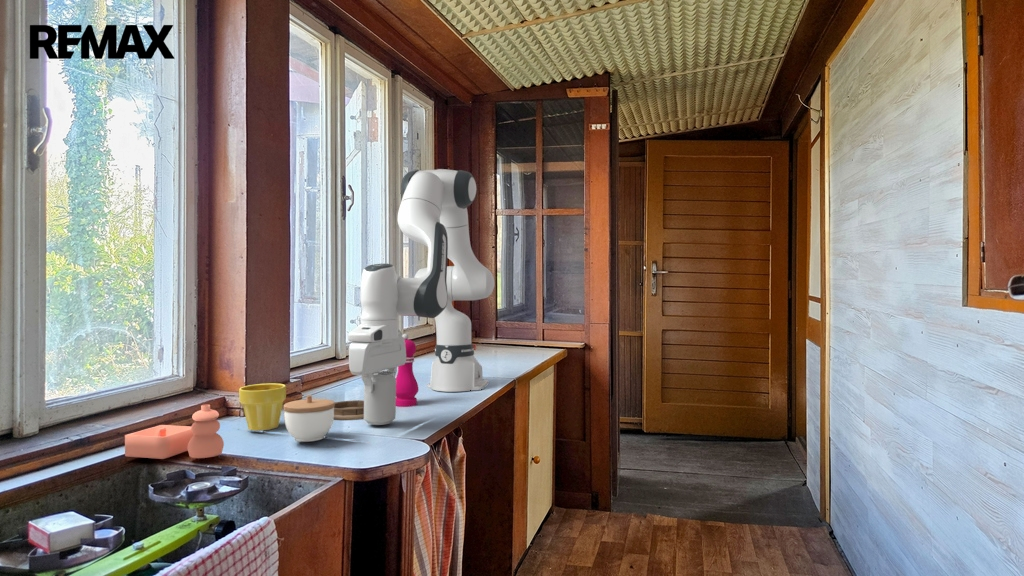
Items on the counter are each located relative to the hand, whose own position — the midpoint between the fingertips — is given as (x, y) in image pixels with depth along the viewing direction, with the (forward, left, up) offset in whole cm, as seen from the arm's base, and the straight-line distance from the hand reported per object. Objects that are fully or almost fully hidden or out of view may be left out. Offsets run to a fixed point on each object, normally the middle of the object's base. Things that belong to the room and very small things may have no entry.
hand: (379, 388), depth 152 cm
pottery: (+34, -25, -9) cm, 44 cm away
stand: (-9, -14, -9) cm, 19 cm away
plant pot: (+11, -25, -9) cm, 29 cm away
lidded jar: (+16, -8, -9) cm, 20 cm away
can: (0, 0, -8) cm, 8 cm away
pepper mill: (-25, -7, -9) cm, 27 cm away
